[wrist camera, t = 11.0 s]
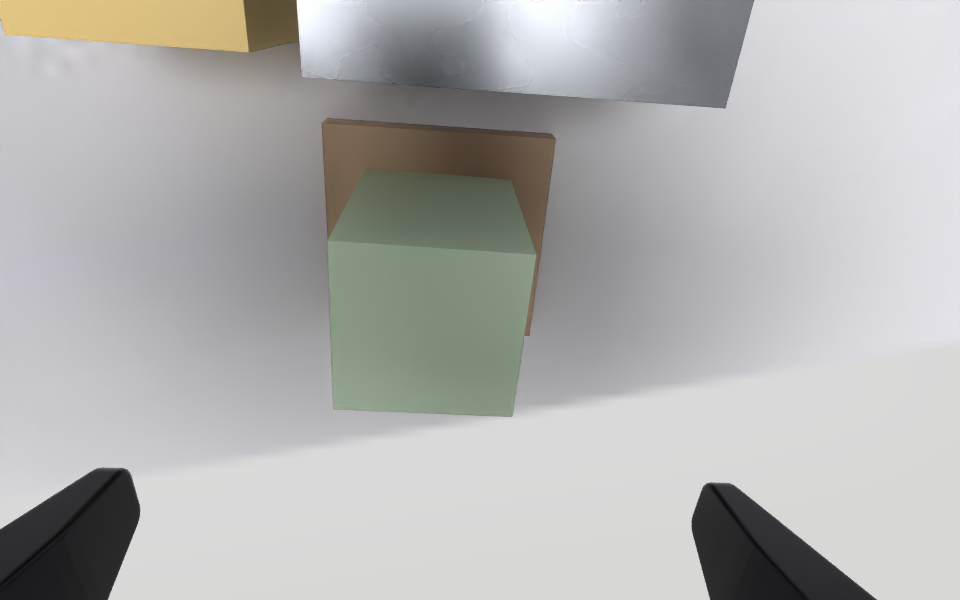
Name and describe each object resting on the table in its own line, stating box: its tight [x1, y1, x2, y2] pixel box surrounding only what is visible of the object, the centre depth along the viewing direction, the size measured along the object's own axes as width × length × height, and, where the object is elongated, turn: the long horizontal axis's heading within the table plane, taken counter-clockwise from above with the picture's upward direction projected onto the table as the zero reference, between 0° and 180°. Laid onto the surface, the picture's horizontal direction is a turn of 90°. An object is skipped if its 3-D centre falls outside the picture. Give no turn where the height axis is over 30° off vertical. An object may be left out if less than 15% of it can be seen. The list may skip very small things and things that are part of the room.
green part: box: [327, 168, 536, 417], centre depth 16 cm, size 4×4×6 cm
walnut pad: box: [322, 118, 556, 336], centre depth 19 cm, size 7×7×1 cm
